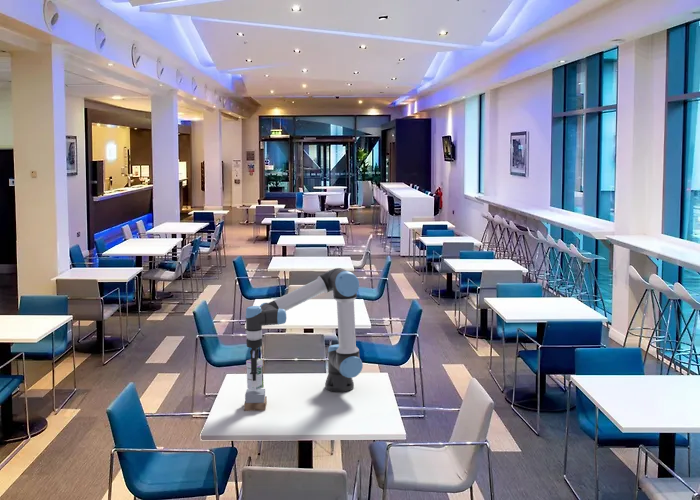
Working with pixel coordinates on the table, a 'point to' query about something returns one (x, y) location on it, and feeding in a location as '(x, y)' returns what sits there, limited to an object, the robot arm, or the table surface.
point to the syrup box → (259, 375)
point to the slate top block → (255, 396)
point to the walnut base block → (255, 406)
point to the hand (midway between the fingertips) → (255, 383)
